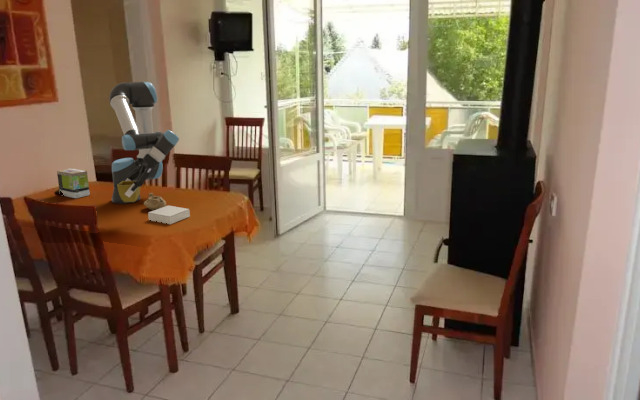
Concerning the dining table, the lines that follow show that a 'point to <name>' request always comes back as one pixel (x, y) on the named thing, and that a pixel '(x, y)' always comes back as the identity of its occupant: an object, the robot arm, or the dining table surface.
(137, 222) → the dining table surface
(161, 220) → the plinth
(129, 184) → the flower pot
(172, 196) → the dining table surface
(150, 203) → the oil lamp
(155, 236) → the dining table surface
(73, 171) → the tea box
